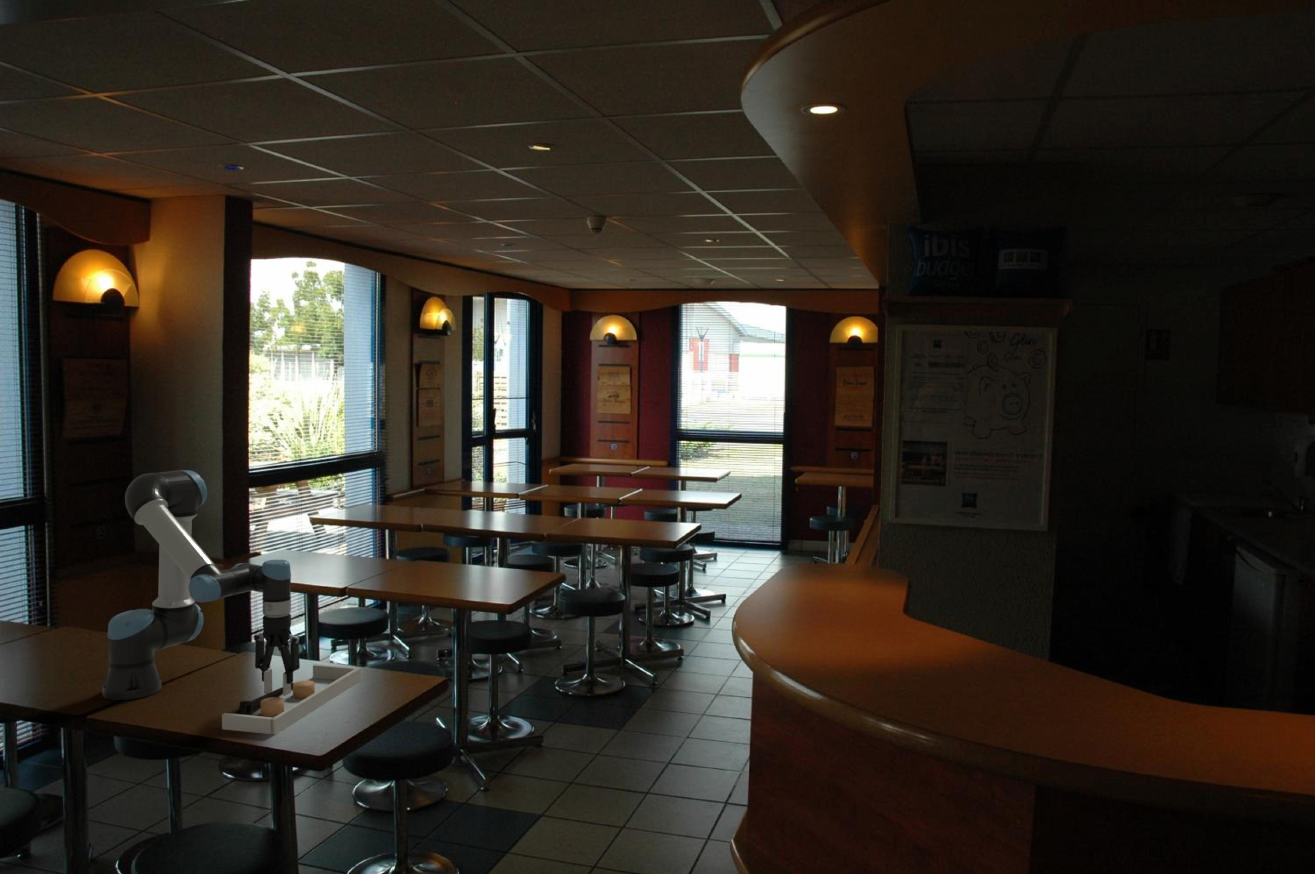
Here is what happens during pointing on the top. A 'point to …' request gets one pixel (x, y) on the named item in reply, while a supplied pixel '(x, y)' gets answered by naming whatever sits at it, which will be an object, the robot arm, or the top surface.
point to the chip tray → (274, 725)
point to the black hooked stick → (257, 702)
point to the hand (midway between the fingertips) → (277, 693)
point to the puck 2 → (303, 689)
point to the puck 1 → (272, 706)
